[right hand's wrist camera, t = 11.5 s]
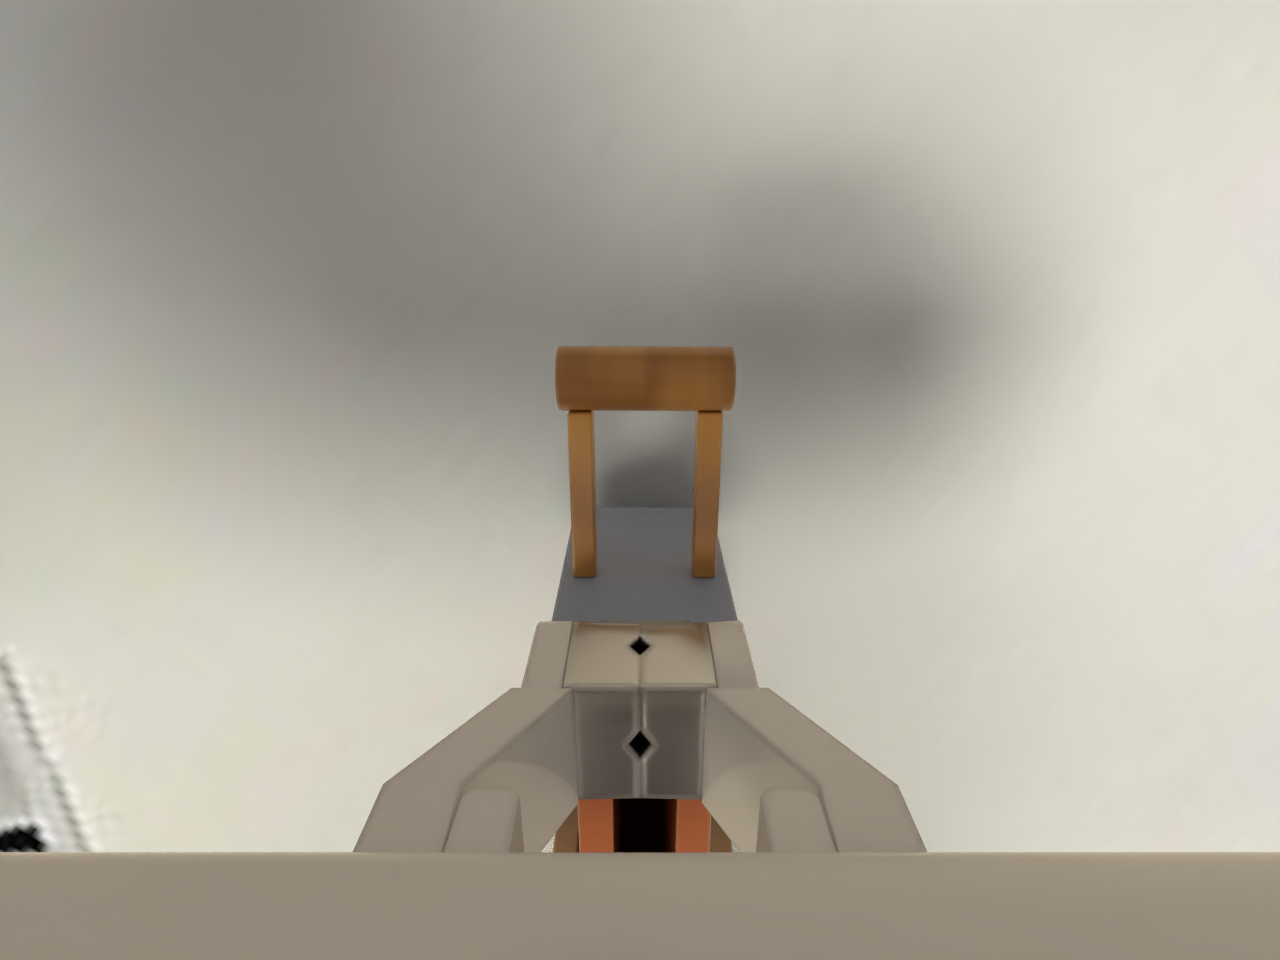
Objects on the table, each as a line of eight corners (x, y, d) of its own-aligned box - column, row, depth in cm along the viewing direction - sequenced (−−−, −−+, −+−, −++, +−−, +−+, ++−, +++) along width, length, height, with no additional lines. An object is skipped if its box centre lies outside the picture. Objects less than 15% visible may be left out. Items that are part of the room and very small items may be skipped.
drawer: (568, 318, 21) (520, 397, 12) (719, 318, 21) (774, 398, 12) (589, 935, 30) (569, 1224, 22) (692, 935, 30) (714, 1223, 22)
